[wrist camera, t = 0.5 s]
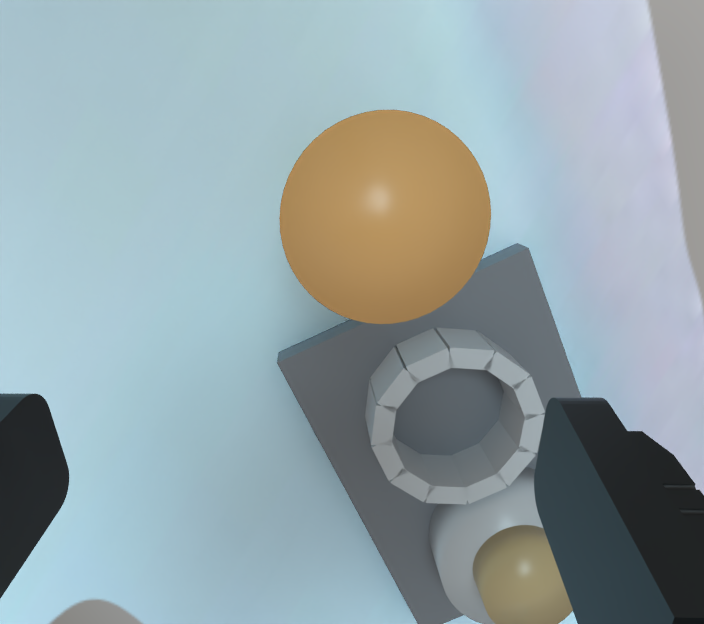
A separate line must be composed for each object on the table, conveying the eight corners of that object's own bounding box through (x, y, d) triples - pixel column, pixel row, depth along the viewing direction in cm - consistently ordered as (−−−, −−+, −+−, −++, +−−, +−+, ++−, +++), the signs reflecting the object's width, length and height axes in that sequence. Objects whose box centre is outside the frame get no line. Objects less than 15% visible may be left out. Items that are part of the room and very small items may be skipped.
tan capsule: (303, 123, 26) (297, 88, 12) (404, 144, 27) (514, 134, 12) (288, 226, 27) (265, 307, 13) (384, 242, 28) (462, 337, 14)
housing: (278, 352, 29) (270, 406, 23) (517, 243, 29) (575, 268, 22) (417, 612, 35) (441, 711, 29) (619, 527, 34) (688, 609, 28)
